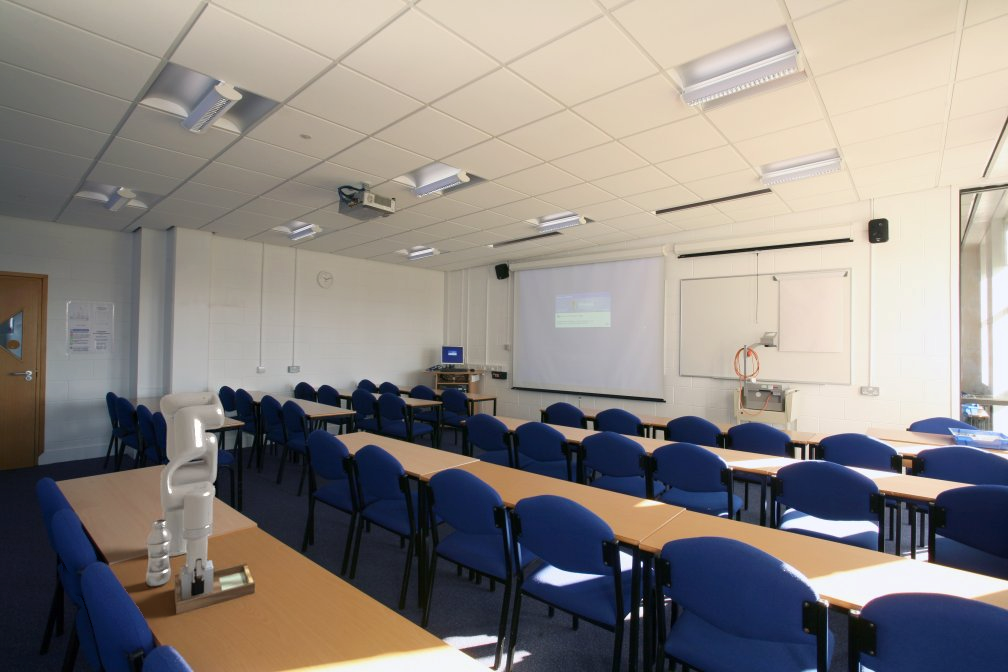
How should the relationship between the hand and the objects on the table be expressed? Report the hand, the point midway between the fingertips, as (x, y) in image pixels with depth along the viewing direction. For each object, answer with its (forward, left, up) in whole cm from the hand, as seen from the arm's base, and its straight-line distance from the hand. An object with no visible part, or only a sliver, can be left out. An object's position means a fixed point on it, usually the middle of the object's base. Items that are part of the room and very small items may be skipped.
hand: (196, 588), depth 144 cm
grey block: (0, 0, -1) cm, 1 cm away
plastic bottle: (-15, -9, -2) cm, 18 cm away
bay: (0, +5, -2) cm, 5 cm away
